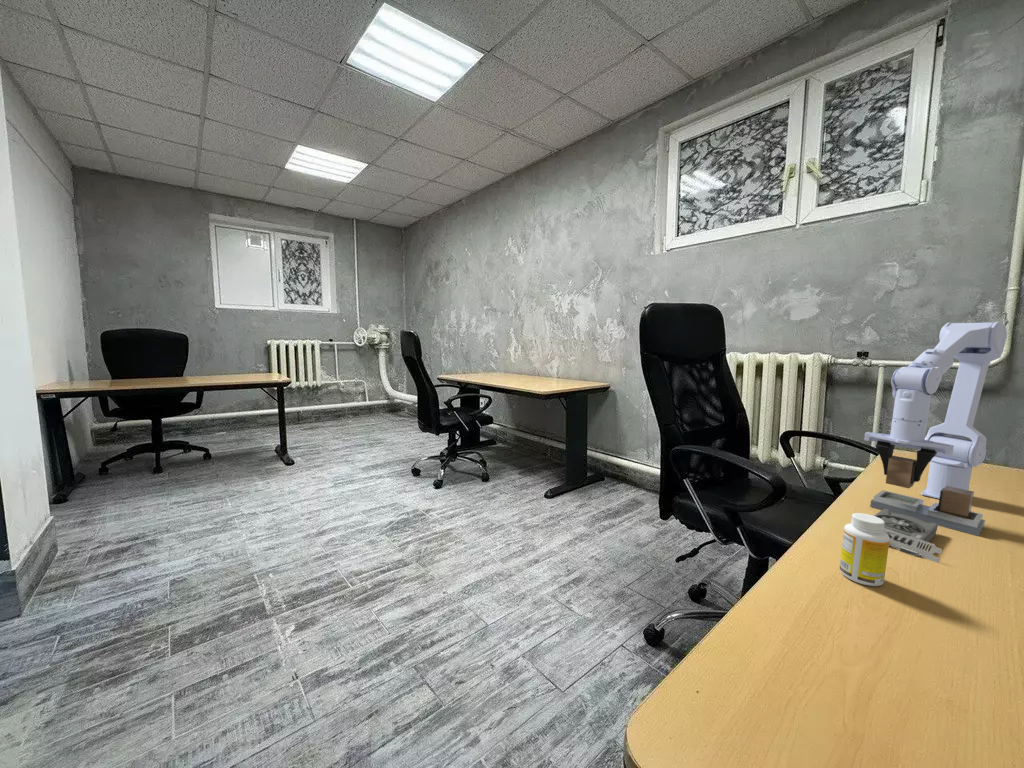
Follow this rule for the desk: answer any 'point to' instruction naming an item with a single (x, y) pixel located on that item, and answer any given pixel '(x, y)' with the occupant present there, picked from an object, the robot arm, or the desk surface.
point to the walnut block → (901, 471)
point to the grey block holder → (936, 509)
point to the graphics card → (910, 534)
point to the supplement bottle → (864, 550)
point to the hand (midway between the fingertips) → (901, 477)
